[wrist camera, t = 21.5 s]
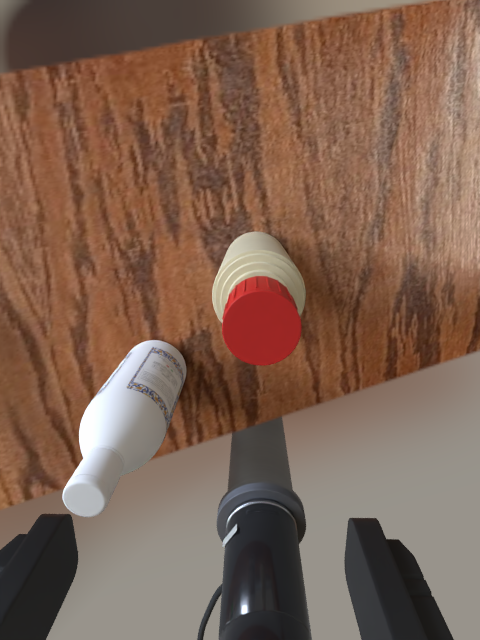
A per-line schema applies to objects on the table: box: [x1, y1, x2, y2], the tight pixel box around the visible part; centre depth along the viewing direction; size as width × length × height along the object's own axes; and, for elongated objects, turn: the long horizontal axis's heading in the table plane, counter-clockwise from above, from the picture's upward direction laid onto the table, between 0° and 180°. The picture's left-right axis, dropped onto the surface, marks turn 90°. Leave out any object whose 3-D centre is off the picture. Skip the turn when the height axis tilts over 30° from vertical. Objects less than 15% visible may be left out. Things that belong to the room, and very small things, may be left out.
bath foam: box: [63, 340, 187, 517], centre depth 34 cm, size 7×7×20 cm
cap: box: [222, 276, 301, 365], centre depth 21 cm, size 4×4×4 cm
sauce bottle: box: [212, 232, 306, 323], centre depth 30 cm, size 6×6×20 cm
